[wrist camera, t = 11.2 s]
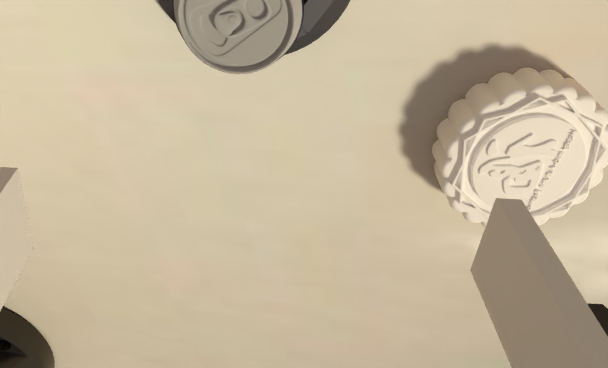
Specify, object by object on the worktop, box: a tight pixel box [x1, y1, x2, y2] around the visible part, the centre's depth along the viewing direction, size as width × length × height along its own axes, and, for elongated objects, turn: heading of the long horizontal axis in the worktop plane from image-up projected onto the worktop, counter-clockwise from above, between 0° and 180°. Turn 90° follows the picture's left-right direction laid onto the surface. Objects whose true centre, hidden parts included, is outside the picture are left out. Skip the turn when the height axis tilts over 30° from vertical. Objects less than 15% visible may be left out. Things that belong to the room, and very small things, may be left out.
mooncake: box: [432, 67, 608, 227], centre depth 41 cm, size 12×12×4 cm
